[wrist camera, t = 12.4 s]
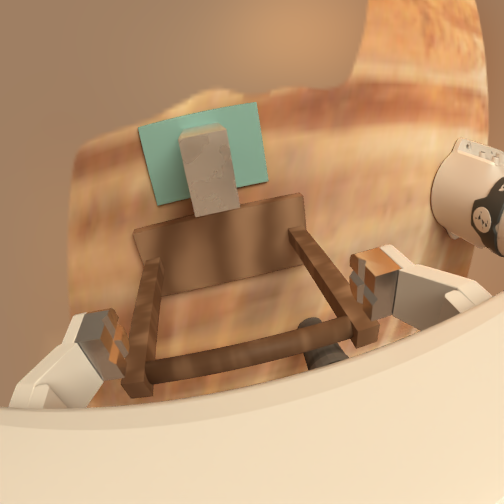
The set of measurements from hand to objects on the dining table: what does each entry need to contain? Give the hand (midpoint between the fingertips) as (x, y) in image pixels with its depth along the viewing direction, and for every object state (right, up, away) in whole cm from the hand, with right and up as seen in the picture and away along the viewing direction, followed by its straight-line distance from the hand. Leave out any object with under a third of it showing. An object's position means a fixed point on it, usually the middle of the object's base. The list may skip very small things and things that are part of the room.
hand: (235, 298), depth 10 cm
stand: (-3, +3, +31) cm, 32 cm away
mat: (-5, +13, +25) cm, 29 cm away
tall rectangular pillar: (-5, +13, +25) cm, 28 cm away
